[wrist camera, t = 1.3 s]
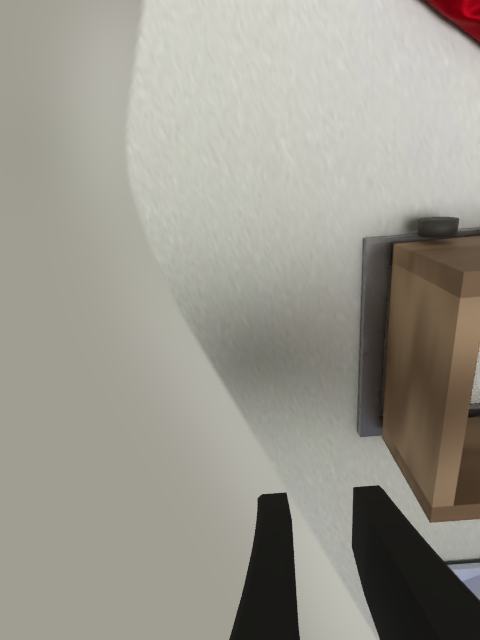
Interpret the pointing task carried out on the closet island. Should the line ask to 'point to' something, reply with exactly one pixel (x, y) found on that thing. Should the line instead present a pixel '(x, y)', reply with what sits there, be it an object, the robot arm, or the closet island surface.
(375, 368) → the frame
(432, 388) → the cart
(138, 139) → the closet island surface
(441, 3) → the engagement ring
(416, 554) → the robot arm
